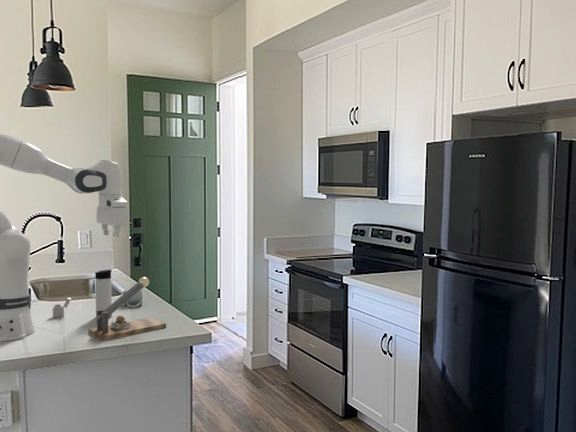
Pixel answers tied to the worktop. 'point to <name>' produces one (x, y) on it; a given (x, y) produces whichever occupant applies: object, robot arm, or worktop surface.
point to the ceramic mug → (134, 299)
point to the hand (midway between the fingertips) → (111, 236)
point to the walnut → (120, 319)
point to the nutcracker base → (129, 331)
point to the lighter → (60, 309)
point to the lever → (125, 297)
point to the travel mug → (103, 290)
